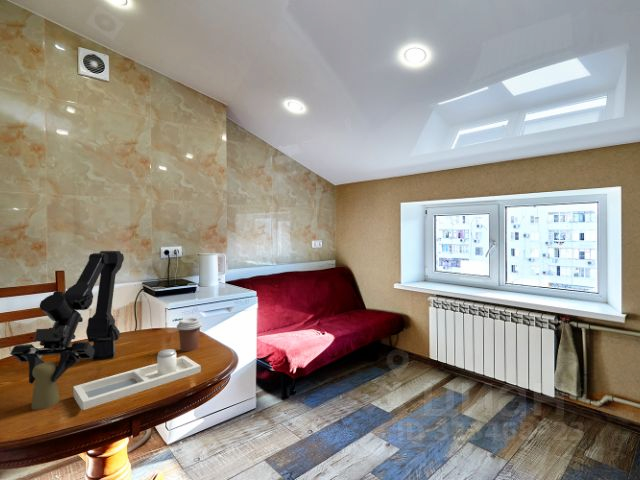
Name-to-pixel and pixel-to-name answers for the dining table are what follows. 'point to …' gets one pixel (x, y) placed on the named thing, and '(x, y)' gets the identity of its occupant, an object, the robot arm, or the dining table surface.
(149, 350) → the dining table surface
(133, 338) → the dining table surface
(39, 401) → the olive pepper shaker
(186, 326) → the coffee cup
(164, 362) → the salt shaker
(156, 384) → the condiment rail
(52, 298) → the robot arm
